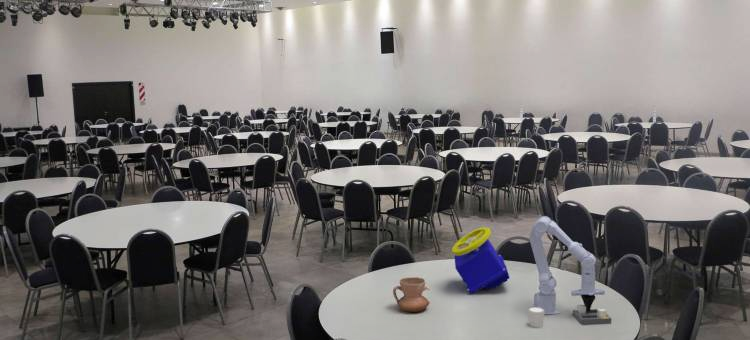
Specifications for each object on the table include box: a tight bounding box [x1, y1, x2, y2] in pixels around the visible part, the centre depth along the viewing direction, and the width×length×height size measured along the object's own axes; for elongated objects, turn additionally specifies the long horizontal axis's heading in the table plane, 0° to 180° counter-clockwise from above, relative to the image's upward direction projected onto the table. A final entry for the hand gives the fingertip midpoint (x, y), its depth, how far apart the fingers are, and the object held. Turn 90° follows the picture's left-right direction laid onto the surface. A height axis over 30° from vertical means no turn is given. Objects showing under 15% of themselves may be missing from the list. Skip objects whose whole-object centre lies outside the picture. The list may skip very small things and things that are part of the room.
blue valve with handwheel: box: [451, 226, 511, 295], centre depth 316 cm, size 26×27×30 cm
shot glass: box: [528, 306, 545, 328], centre depth 269 cm, size 7×7×7 cm
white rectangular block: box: [596, 308, 607, 318], centre depth 271 cm, size 3×3×4 cm
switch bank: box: [571, 308, 612, 326], centre depth 274 cm, size 13×11×2 cm
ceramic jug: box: [392, 276, 431, 313], centre depth 292 cm, size 18×14×14 cm
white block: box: [576, 304, 586, 314], centre depth 277 cm, size 3×3×4 cm
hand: (587, 310), depth 277 cm, fingers closed
